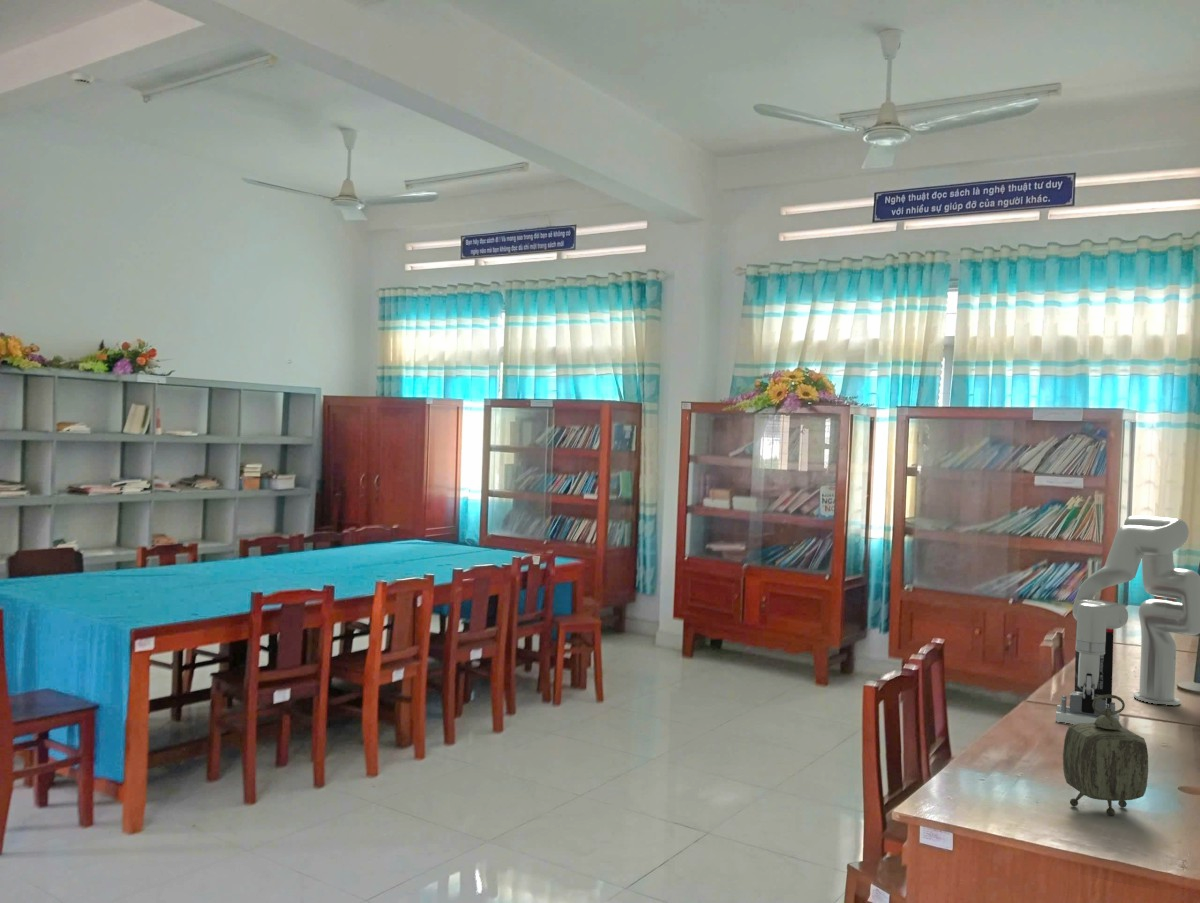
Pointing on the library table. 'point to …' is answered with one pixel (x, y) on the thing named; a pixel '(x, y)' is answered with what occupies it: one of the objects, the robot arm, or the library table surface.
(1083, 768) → the tabletop clock
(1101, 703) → the block
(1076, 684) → the graphics card box
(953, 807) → the library table surface
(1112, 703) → the white and grey device
